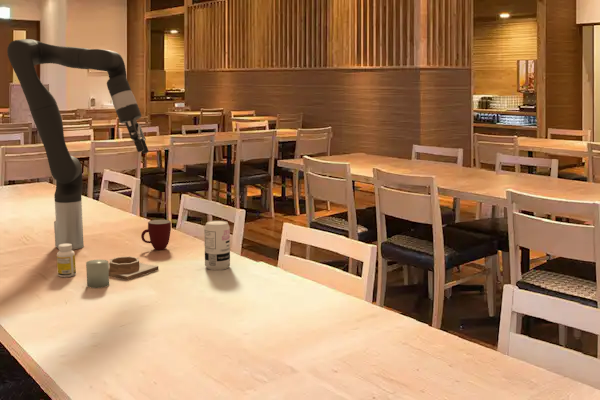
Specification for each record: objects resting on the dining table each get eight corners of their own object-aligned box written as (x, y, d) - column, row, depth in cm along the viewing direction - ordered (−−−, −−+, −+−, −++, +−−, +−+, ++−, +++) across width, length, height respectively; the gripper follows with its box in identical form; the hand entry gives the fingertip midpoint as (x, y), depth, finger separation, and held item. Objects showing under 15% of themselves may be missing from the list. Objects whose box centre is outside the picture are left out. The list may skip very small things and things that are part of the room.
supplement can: (205, 264, 236) (204, 220, 233) (230, 263, 236) (229, 220, 234) (204, 270, 228) (203, 225, 225) (229, 270, 228) (229, 225, 226)
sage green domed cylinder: (82, 285, 211) (81, 263, 209) (98, 280, 216) (97, 258, 215) (97, 289, 207) (96, 266, 206) (113, 283, 213) (112, 261, 212)
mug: (145, 253, 249) (145, 225, 247) (139, 248, 256) (138, 221, 254) (174, 250, 254) (173, 222, 252) (167, 245, 261) (166, 218, 259)
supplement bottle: (68, 271, 225) (67, 241, 223) (79, 274, 222) (78, 244, 220) (54, 275, 221) (52, 245, 219) (65, 278, 218) (63, 247, 216)
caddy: (90, 272, 225) (90, 261, 224) (122, 262, 236) (122, 252, 236) (127, 280, 216) (126, 269, 216) (158, 269, 228) (158, 259, 228)
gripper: (120, 113, 243) (137, 157, 243) (110, 107, 229) (128, 154, 229) (140, 106, 243) (157, 149, 243) (132, 99, 229) (150, 146, 229)
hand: (143, 152), depth 236 cm, fingers open, 8 cm apart
